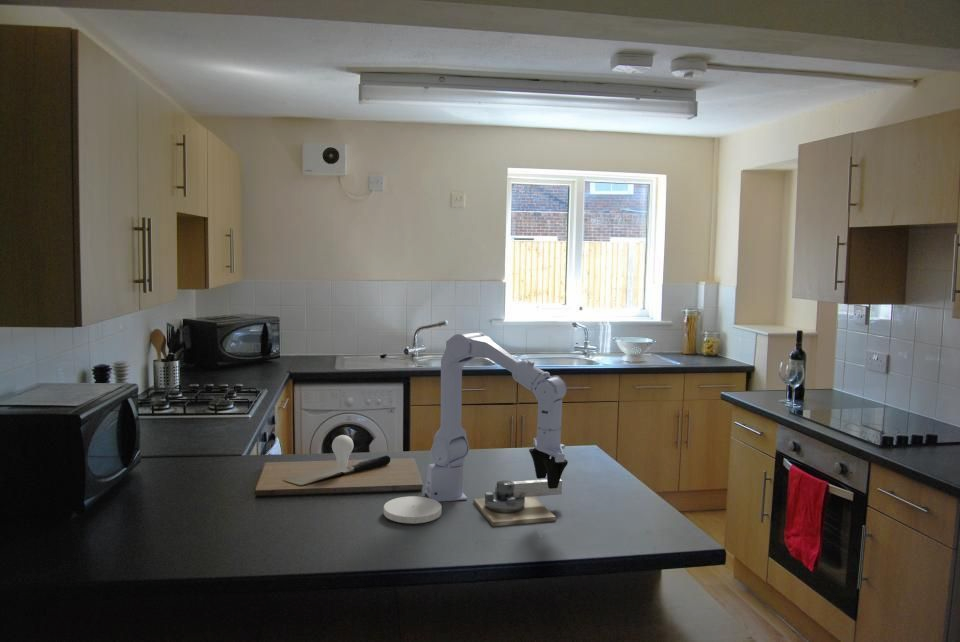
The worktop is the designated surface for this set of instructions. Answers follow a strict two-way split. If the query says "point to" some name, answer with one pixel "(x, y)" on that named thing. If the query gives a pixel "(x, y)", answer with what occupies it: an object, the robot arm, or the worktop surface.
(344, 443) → the lightbulb
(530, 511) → the square wooden board
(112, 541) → the worktop surface
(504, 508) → the metal lever mechanism
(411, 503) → the plastic lid
